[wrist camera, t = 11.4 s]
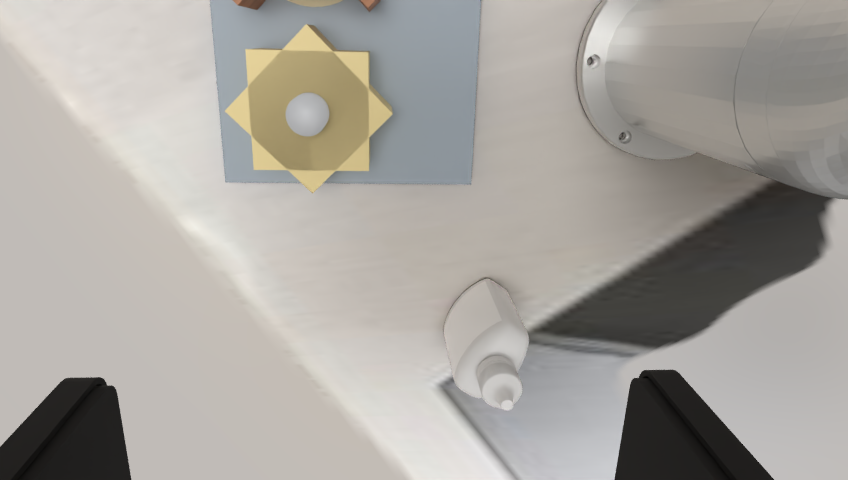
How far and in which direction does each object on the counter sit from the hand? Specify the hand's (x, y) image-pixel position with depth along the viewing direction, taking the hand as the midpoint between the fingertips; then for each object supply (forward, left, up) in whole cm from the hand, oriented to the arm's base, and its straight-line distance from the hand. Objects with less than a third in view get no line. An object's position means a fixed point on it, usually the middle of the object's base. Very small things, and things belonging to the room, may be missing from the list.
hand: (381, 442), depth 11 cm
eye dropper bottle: (-7, +12, -31) cm, 34 cm away
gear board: (+2, -8, -30) cm, 31 cm away
